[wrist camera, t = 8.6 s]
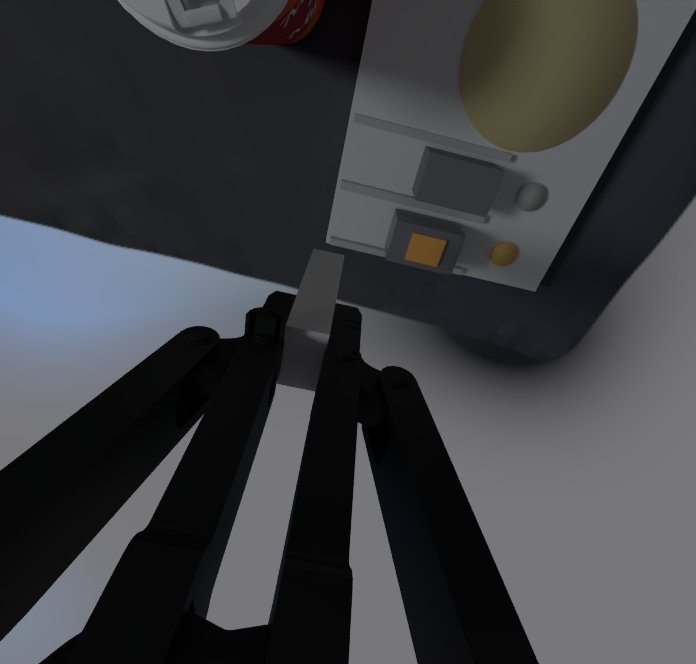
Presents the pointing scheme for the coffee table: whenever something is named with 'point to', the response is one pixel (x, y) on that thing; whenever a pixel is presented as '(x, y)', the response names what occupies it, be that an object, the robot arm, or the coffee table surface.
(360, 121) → the panel
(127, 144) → the coffee table surface
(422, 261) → the tagged breaker
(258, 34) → the coffee cup
